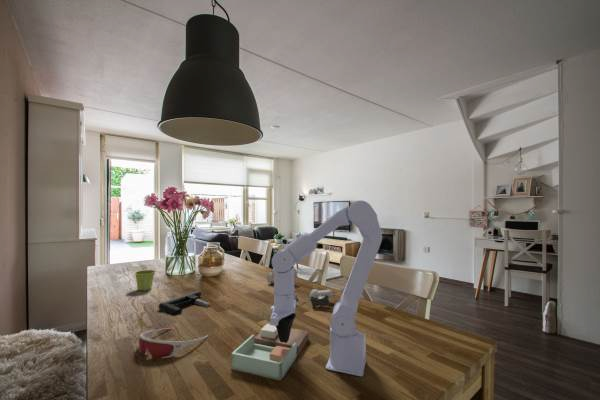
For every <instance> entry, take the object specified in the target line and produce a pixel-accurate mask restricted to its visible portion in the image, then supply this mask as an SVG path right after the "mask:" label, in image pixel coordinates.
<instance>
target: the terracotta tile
mask: <svg viewBox="0 0 600 400" xmlns="http://www.w3.org/2000/svg"><path fill="white" fill-rule="evenodd" d="M289 349H290V348H286V347H281V346H276V347H275V348H274V349H273V350H272V352H271V353H270V360H271V361H276V362H280V361H281V360H282V359H283V357H284V356H285V355H286V353H287V352H288V351H289Z"/></svg>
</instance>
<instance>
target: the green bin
mask: <svg viewBox="0 0 600 400" xmlns="http://www.w3.org/2000/svg"><path fill="white" fill-rule="evenodd" d="M254 338H255V334H251V335H250V336H249V337H248V338H247V339H246V340H245V341H244V342H242V343H241V344H240V345H239V346H238V347H237V348H236V349H234V350H233V351H232V352H231V359H230V360H231V363H230V365H231V367H230V368H231V370H234V371H237V372H242V373H246V374H251V375H255V376H259V377H262V378H267V379H272V380H275V381H280V382H281V381H282V380H283V379H284V378H285V376H286V374H287V373H288V371H289V370H290V369H291V367H292V365H293V364H294V362H295V360H297V356H298V355H297V343H296V342H295V343H294V344H293V345H292V347H291V348H290V349H289V351H288V352H287V353H286V355H285V356H284V357H283V359H282V360H281V361H280V362H276V361H271V360H270V353H271V352H272V350H273V349H274V348H275V347H270V346H265V345H260V344H255V343H254Z"/></svg>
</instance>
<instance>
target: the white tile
mask: <svg viewBox="0 0 600 400" xmlns="http://www.w3.org/2000/svg"><path fill="white" fill-rule="evenodd" d="M260 332H261V336H262V337H268V338H273V339H274V338H275V337H276V336H277V335H278V331H277V328H276V326H273V325H270V323H266V324H265V325H264V326H263V327H262V328H261V329H260Z"/></svg>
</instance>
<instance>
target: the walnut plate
mask: <svg viewBox="0 0 600 400" xmlns="http://www.w3.org/2000/svg"><path fill="white" fill-rule="evenodd" d="M308 340H309V331H308V330H304V329H298V328H292V327H291V331H290V336H289V340H288V342H287V343H284V342H280V340H279V335H277V336H276V337H275V338H274V339H273V338H268V337H262V336H261V331H260V332H259V333H258V334H257V335H256V336H254V343H255V344H260V345H265V346H270V347H276V346H281V347H286V348H291V347H292V345H293V344H294V343H295V342H296V343H297V356H299V355H300V353H301V351H302V349H303V348H304V346H305V345H306V344H307V342H308Z"/></svg>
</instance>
